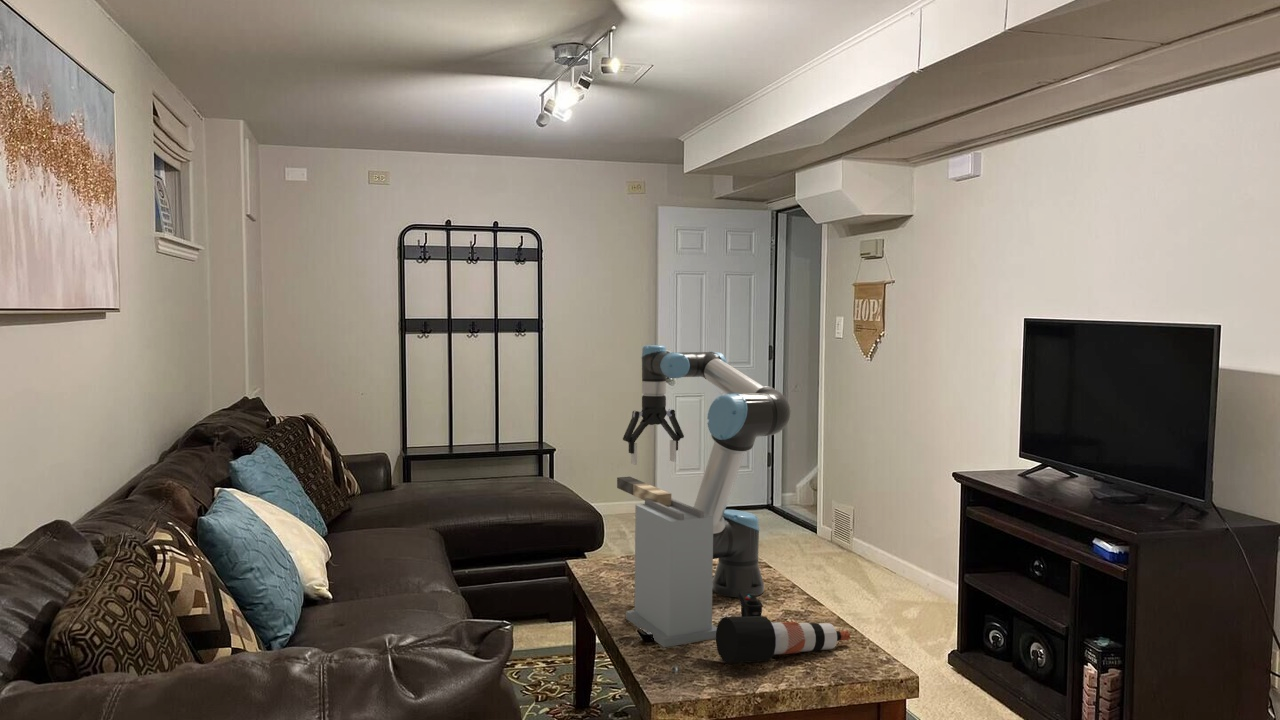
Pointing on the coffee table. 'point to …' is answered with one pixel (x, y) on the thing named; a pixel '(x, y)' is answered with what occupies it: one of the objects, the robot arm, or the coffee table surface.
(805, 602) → the coffee table surface
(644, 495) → the bar
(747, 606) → the controller
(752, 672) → the coffee table surface
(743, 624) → the black white tapered cylinder
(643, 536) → the post
